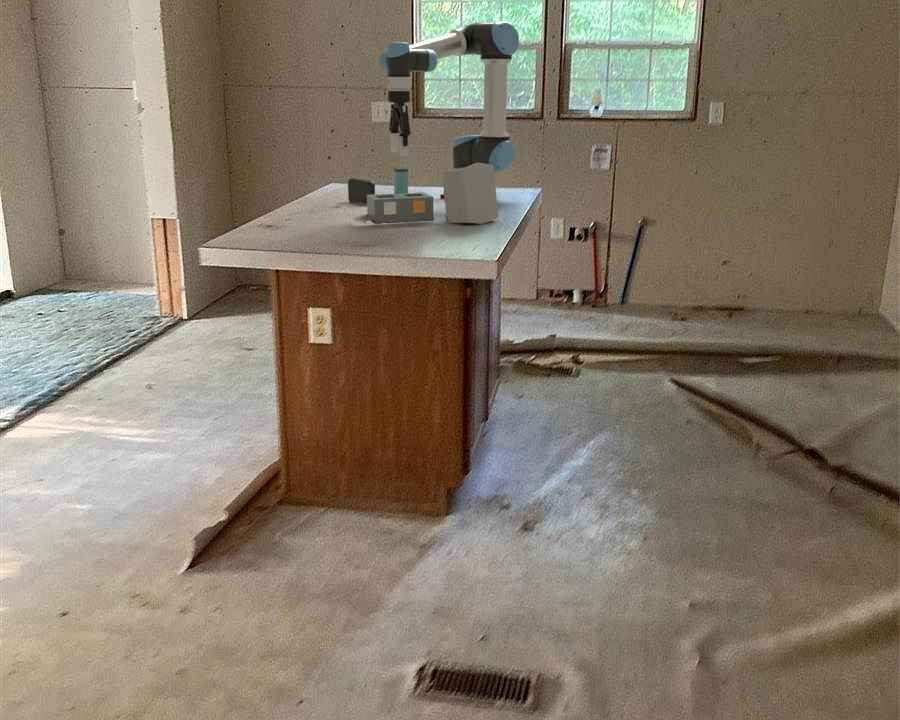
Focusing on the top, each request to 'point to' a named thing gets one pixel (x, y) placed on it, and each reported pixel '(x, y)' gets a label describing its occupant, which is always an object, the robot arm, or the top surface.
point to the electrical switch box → (470, 194)
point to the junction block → (400, 207)
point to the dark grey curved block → (360, 189)
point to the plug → (400, 180)
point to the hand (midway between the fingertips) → (399, 154)
